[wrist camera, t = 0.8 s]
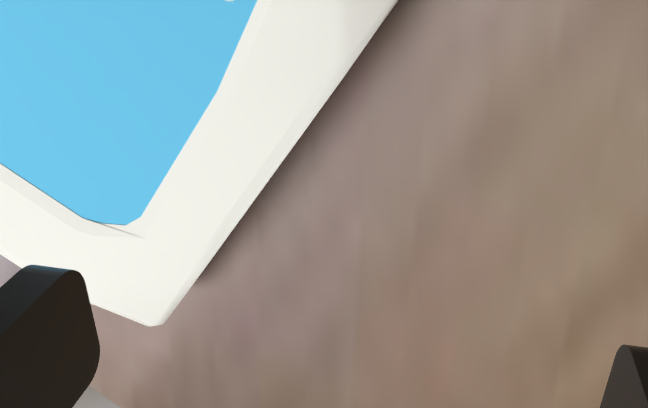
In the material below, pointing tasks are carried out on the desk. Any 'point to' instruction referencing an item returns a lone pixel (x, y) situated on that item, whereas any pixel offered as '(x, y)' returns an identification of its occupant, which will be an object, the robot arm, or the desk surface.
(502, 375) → the desk surface
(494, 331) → the desk surface
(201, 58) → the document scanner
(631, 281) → the desk surface
